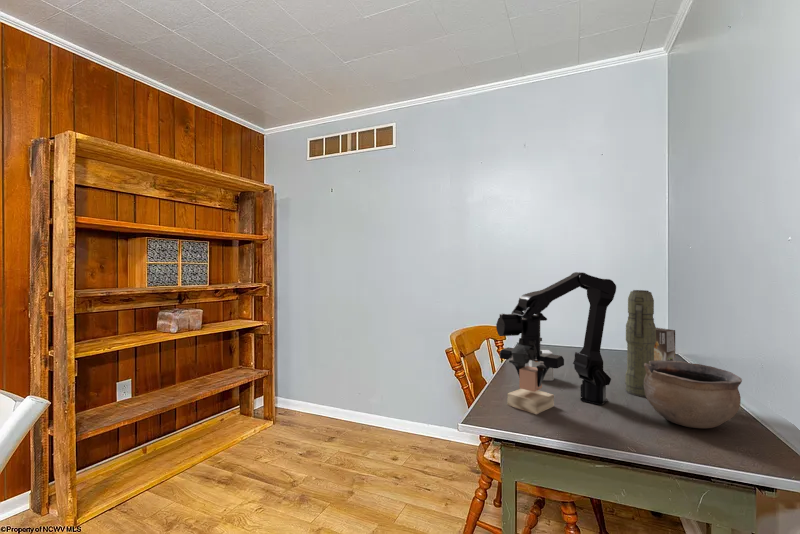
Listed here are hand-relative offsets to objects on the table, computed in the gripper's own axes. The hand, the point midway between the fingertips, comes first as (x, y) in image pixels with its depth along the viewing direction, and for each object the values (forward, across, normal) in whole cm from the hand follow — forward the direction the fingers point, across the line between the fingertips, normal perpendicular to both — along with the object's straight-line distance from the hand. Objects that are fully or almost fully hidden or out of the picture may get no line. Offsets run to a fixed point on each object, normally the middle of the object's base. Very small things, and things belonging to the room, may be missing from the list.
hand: (530, 384), depth 122 cm
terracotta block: (+1, 0, 0) cm, 1 cm away
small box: (+7, -10, +30) cm, 32 cm away
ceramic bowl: (+7, +38, +18) cm, 43 cm away
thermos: (+7, +22, +37) cm, 43 cm away
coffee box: (+7, +20, +82) cm, 85 cm away
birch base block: (+7, 0, 0) cm, 7 cm away
